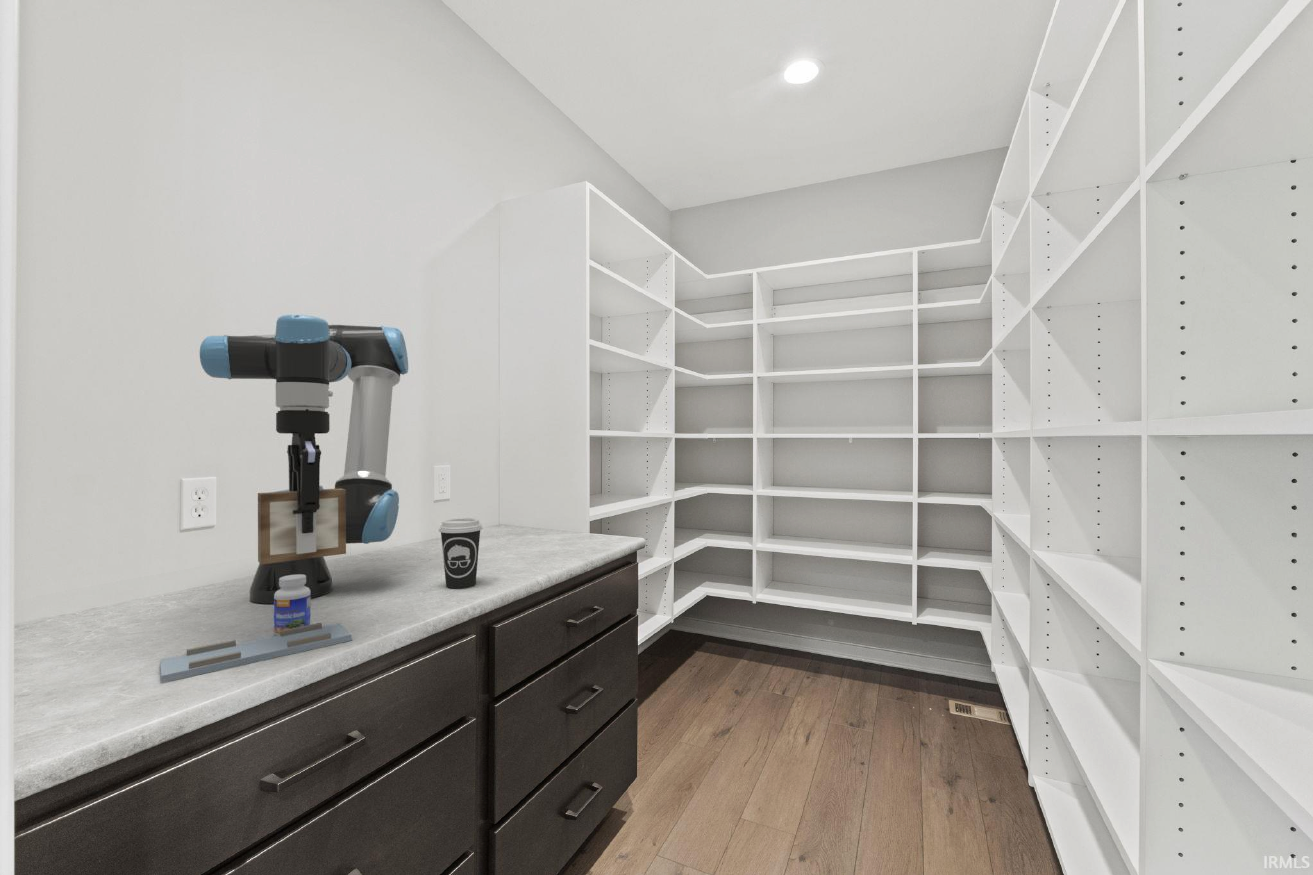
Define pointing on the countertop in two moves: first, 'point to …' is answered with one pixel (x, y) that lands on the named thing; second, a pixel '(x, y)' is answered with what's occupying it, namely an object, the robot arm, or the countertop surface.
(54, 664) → the countertop surface
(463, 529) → the coffee cup
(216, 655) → the ledge
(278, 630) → the pill bottle
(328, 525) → the frame
